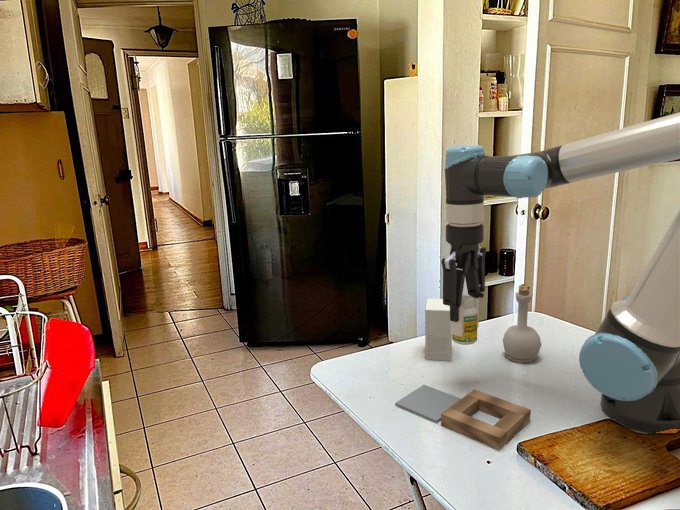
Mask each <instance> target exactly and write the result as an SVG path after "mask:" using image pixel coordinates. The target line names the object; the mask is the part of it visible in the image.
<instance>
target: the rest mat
mask: <svg viewBox="0 0 680 510" xmlns="http://www.w3.org/2000/svg"><path fill="white" fill-rule="evenodd" d="M460 399H462V398H461V397H458V396H455V395H453V394H451V393H448V392H445V391H442V390H439V389H436V388H434V387H432V386H429V385H426V384H422V385H421V386H419V387H418V388H416V389H415V390H412V392H410V393H409V394H407V395H405V396H403V397H402V398H400V399H399V400H397V401H396V402H394V406H395V407H398V408H400V409H403V410H405V411H407V412H410V413H411V414H414V415H416V416H419V417H421V418H422V419H423V418H424V419H425V420H428V421H430V422H433V423H435V424H438V423H439V422H441V413H443V412H444V411H445V410H447V409H448V408H449V407H451V406H452V405H453V404H455V403H456V402H457V401H459V400H460Z"/></svg>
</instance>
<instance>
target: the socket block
mask: <svg viewBox="0 0 680 510" xmlns="http://www.w3.org/2000/svg"><path fill="white" fill-rule="evenodd" d="M531 410H532V409H529V408H528V407H524V406H523V405H522V406H521V405H518V404H516V403H513V402H510V401H507V400H505V399H501V398H500V397H497V396H493V395H491V394H488V393H485V392H482V391H480V390H477V389H472V390H471V391H469V392H468V393H467V394H465V396H463V397H462V398H461V399H460V400H459V401H457V402H456V403H455V404H453V405H452V406H451V407H449V408H448V409H447V410H445V411H444V412H443V413H441V420H440V426H441V427H444V428H446V429H449V430H451V431H453V432H456V433H458V434H460V435H463V436H465V437H467V438H469V439H472V440H474V441H476V442H479V443H481V444H483V445H485V446H488V447H490V448H492V449H495V450H497V451H501V450H502V449H503V447H505V446H506V445H507V444H508V443H509V442H510V441H511V440H512V439H513V438H514V437H516V436H517V434H519V433H520V431H522V430H523V429H524V428H525V427H526V426H527V425H528V424H529V423H530V422H531V413H532V412H531ZM478 411H480V412H483V413H485V414H488V415H490V416H493V417H495V418H498V419H499V420H498V421H497V422H496V423H495V424H491V423H488V422H486V421H483V420H480V419H478V418H476V417H473V415H476V413H477V412H478Z"/></svg>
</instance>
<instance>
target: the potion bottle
mask: <svg viewBox="0 0 680 510" xmlns="http://www.w3.org/2000/svg"><path fill="white" fill-rule="evenodd" d="M532 298H533V294H532V293H531V292H530V285H529V284H528V283H521V284H519V286H518V291H517V292H515V300H516V302H517V304H518V307H517V323H516V324H514V325H512V326H509V327H508V328H507V329H506V331H505V332H504V334H503V335H504V336H503V338H502V345H503V350H504V354H506V358H507V359H509V360H511V361H512V362H515V363H520V364H522V363H523V364H528V363H532V362H534V361H535V360H536V358H537V357H538V355H539V353H540V350H541V347H542V341H541V340H542V339H541V337H540V334H539V333H538V331H537V330H536V329H535V328H533V327H532V326H528V315H529V314H528V313H529V303H530V302H531V301H532Z"/></svg>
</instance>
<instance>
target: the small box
mask: <svg viewBox="0 0 680 510" xmlns="http://www.w3.org/2000/svg"><path fill="white" fill-rule="evenodd" d="M425 301H426V302H425V309H424V318H425V320H424V324H425V325H424V330H425V331H424V333H425V335H424V339H425V340H424V341H425V342H424V343H425V344H424V346H425V347H424V351H425V352H424V353H425V354H424V359H425V360H426V361H442V362H443V361H445V362H446V361H447V362H451V361H452V355H453V354H452V353H453V351H452V350H453V348H452V347H453V346H452V345H453V340H452V334H450V306H448V305H444V304H443V298H426V300H425Z"/></svg>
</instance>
